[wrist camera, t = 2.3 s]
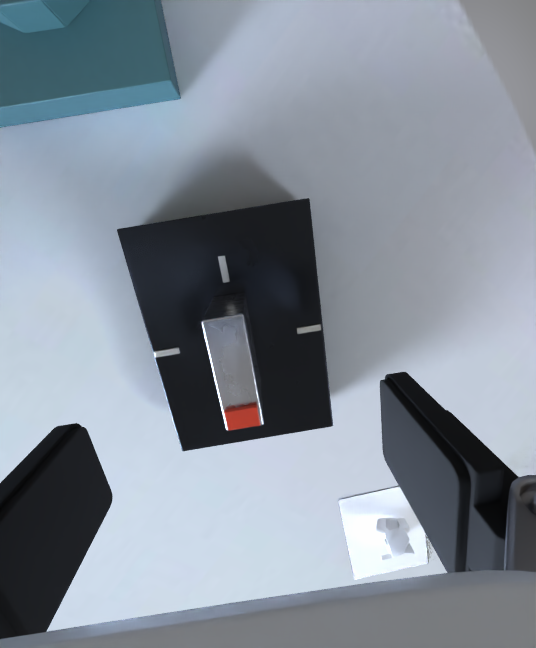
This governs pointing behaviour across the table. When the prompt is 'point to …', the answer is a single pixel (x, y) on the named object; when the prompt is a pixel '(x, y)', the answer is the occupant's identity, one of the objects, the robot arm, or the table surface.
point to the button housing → (82, 58)
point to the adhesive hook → (382, 533)
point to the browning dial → (234, 360)
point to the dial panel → (263, 305)
